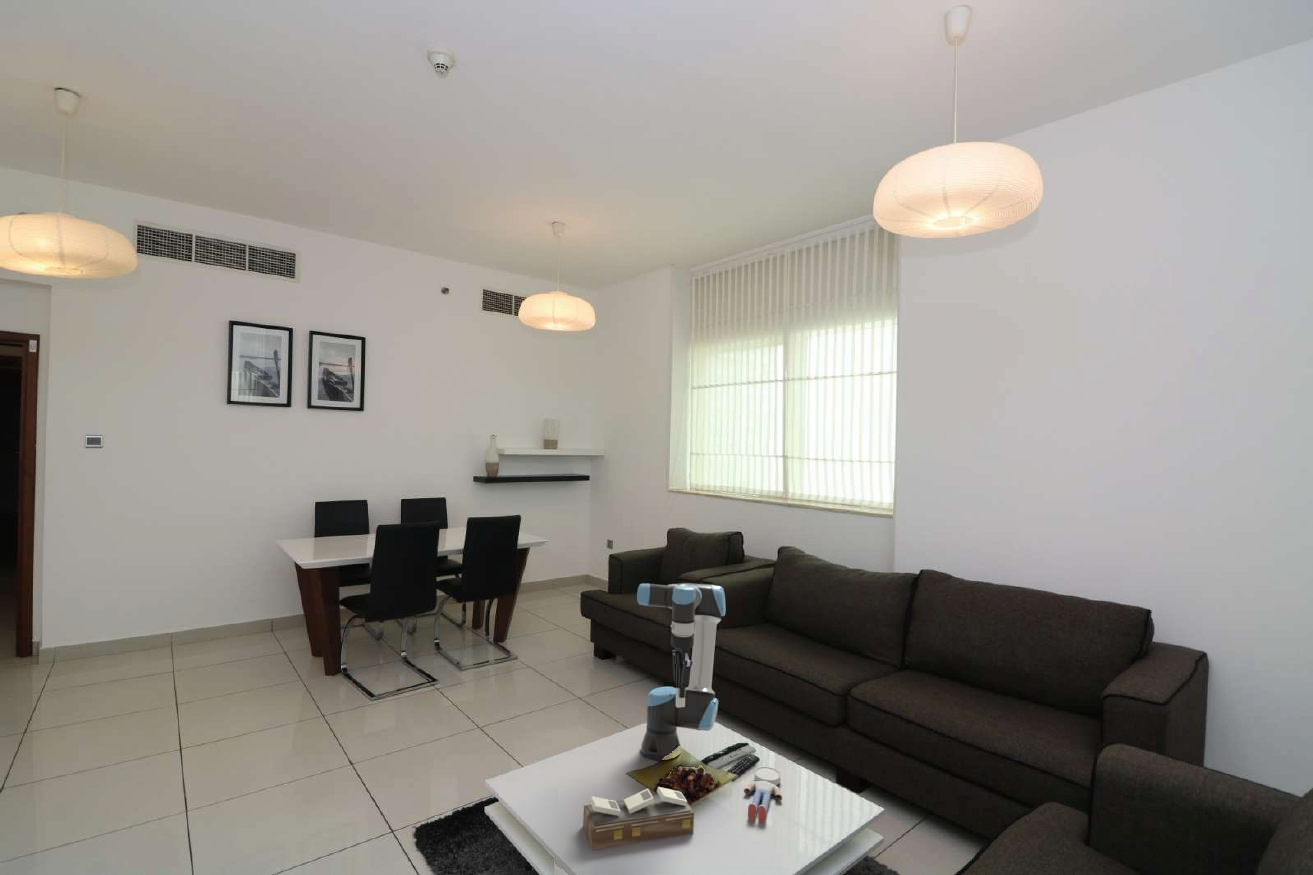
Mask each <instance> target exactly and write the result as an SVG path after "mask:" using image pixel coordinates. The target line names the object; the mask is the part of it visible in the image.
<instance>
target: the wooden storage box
mask: <svg viewBox="0 0 1313 875" xmlns="http://www.w3.org/2000/svg"><path fill="white" fill-rule="evenodd" d="M652 796H653V798H654V801H655V802H654V803H652V804H650V805H648V806H646V807H644V808H642V809H640V810H637V811H635V812H633V813H631V814H630V813H629V811H628V809H627V807H626V805H625V803H624V799H619V800H615V801H616V802H617V804H618V807H619V809H620V811H621V812H620V815H619V816H617V815H612V814H607V813H602V812H596V811H594V810H593V807H592V805H591V804H586V805H584V806H583V817H582V818H583V819H582V820H583V821H582V822H583V823H582V824H583V825H582V826H583V830H584V832H585V835H586V837H587V838H586V839H587V842H588V844H589V846H590V848H591V851H593V850H594V851H595V850H600V849H606V848H612V847H618V846H624V845H631V844H635V843H637V844H638V843H642V842H648V841H655V840H661V839H667V838H672V837H678V836H685V835H690V833H691V834H694V827H695V825H694V824H695V812H694V811H693V809H692V808H691V806H690V804H689V802H687V804H686V806H684V805H679V804H675V803H670V802H666V801H662V799H661V798H660V796H659V794H656V795H652Z"/></svg>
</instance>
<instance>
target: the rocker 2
mask: <svg viewBox="0 0 1313 875" xmlns="http://www.w3.org/2000/svg"><path fill="white" fill-rule="evenodd" d="M656 793H657V795H659V796H660V798H661V799H662V801H666V802H670V803H675V804H679V805H684V806H686V804H687V803H688V801H687V799H686V797H685V796H684V794H683V793H682V792H681V791H680V790H674V789H670V788H665V787H660V786H657V789H656Z"/></svg>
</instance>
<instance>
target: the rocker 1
mask: <svg viewBox="0 0 1313 875" xmlns="http://www.w3.org/2000/svg"><path fill="white" fill-rule="evenodd" d="M616 801H617V800H612V799H610V798H609V799H607V798H603V797H600V796H599V797H597V796H593V795H591V797H590V799H589V802H590V805H592V807H593V810H594V811H596V812H602V813H607V814H612V815H617V816H619V815H620V812H621V811H620V809H619V807H618V804H617V802H616Z"/></svg>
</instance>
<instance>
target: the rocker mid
mask: <svg viewBox="0 0 1313 875" xmlns="http://www.w3.org/2000/svg"><path fill="white" fill-rule="evenodd" d="M653 796H654V795H653V794H652V793H651V791H650V789H649V788H646V789H644V790H641V791H638V792H637V793H635V794H633V795H630V796H628V797H627V798H624V799H623V800H624V803H625V805H626V807H627V809H628V811H629V813H630V814H631V813H633V812H635V811H637V810H640V809H642V808H644V807H646V806H648V805H650V804H652V803H654V802H655V801H654V798H653Z"/></svg>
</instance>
